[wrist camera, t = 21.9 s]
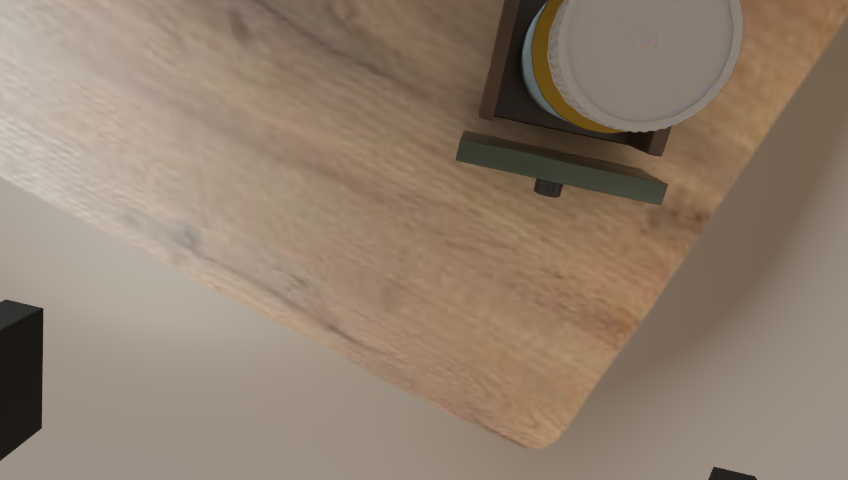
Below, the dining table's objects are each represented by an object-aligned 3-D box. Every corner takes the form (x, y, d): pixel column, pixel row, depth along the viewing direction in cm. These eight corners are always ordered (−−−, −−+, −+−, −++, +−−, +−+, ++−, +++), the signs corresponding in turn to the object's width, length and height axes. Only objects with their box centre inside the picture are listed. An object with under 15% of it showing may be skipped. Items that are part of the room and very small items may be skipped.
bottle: (507, 107, 35) (524, 125, 20) (532, -16, 33) (571, -91, 19) (620, 127, 35) (719, 161, 20) (653, 5, 33) (789, -55, 18)
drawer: (628, 204, 37) (654, 226, 31) (455, 167, 37) (450, 181, 32) (702, -32, 33) (747, -55, 27) (508, -71, 33) (513, -102, 28)
